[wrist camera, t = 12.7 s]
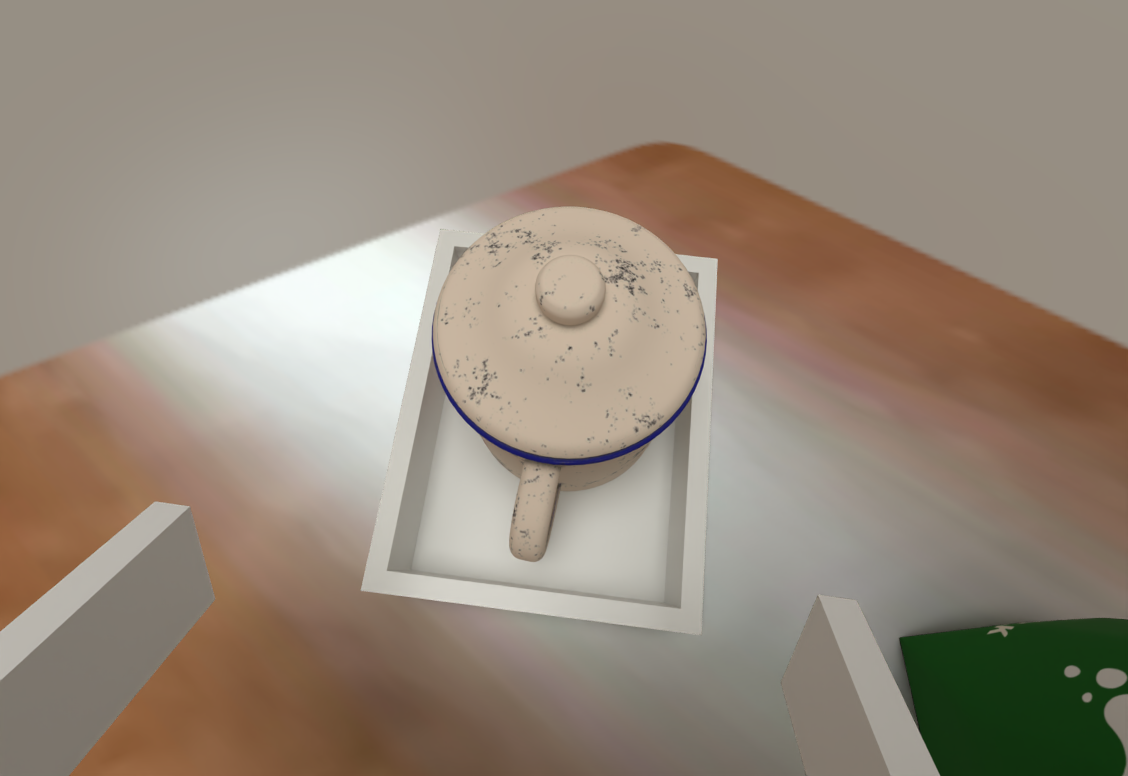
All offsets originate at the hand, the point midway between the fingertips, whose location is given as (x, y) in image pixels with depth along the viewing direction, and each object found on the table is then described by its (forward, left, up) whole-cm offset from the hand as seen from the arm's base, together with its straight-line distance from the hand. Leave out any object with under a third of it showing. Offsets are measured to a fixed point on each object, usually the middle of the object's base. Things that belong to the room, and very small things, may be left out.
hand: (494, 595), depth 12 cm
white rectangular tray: (0, -7, -14) cm, 15 cm away
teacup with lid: (-1, -7, -13) cm, 15 cm away
